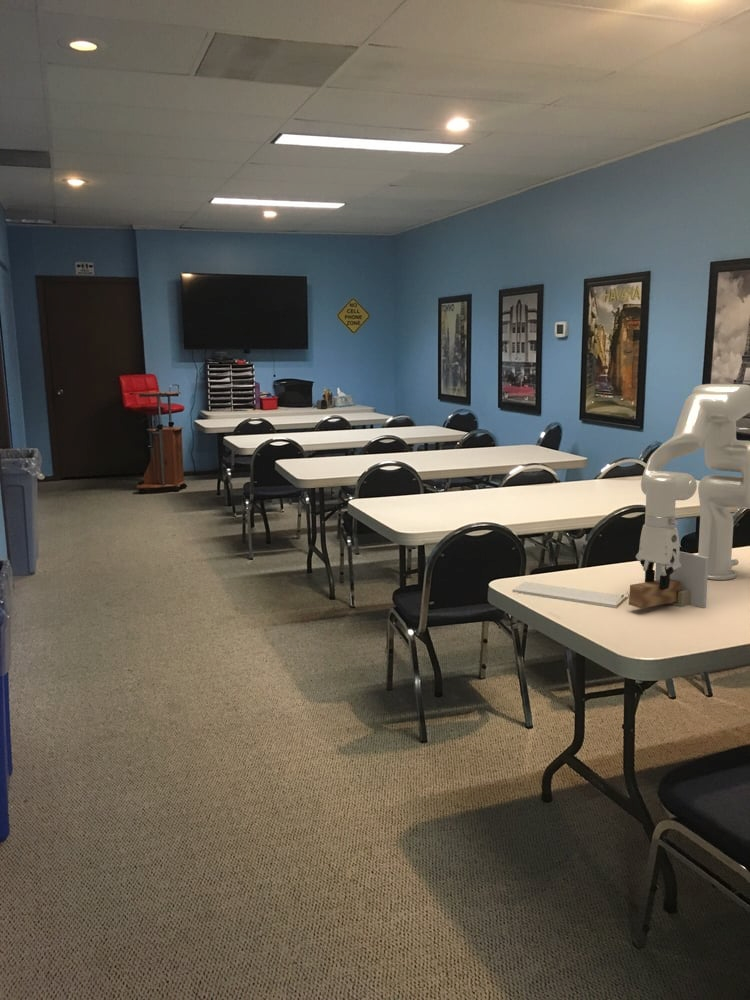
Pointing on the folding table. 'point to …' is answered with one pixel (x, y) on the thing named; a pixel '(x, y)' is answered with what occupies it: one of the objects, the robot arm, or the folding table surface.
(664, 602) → the rail
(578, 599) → the grey flat board
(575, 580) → the folding table surface
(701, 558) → the panel
